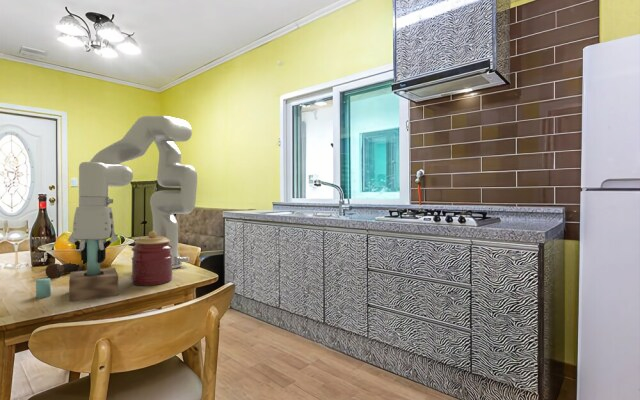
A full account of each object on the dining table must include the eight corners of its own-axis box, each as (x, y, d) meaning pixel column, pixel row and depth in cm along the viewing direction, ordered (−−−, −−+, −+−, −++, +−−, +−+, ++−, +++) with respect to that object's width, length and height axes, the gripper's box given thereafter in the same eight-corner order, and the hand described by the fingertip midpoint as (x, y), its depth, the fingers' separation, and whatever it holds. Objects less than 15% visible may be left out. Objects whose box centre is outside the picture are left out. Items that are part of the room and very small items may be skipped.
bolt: (86, 273, 139) (53, 282, 124) (76, 266, 139) (42, 274, 125) (93, 261, 139) (61, 268, 124) (83, 254, 139) (50, 260, 124)
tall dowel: (101, 272, 109) (101, 237, 109) (97, 275, 106) (97, 239, 106) (89, 273, 108) (89, 237, 108) (84, 275, 105) (84, 239, 105)
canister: (178, 276, 129) (178, 229, 128) (161, 286, 116) (162, 233, 115) (143, 276, 129) (144, 228, 129) (123, 285, 116) (123, 232, 116)
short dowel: (52, 294, 106) (52, 278, 105) (46, 297, 102) (46, 280, 102) (39, 295, 105) (39, 278, 105) (33, 298, 101) (33, 281, 101)
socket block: (114, 285, 116) (114, 267, 116) (118, 295, 106) (118, 275, 106) (70, 291, 109) (70, 272, 109) (69, 301, 99) (69, 280, 99)
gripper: (127, 202, 112) (126, 259, 113) (68, 202, 108) (68, 260, 109) (119, 203, 105) (119, 264, 105) (56, 202, 101) (56, 265, 102)
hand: (93, 261), depth 107 cm, fingers closed on tall dowel, 3 cm apart
